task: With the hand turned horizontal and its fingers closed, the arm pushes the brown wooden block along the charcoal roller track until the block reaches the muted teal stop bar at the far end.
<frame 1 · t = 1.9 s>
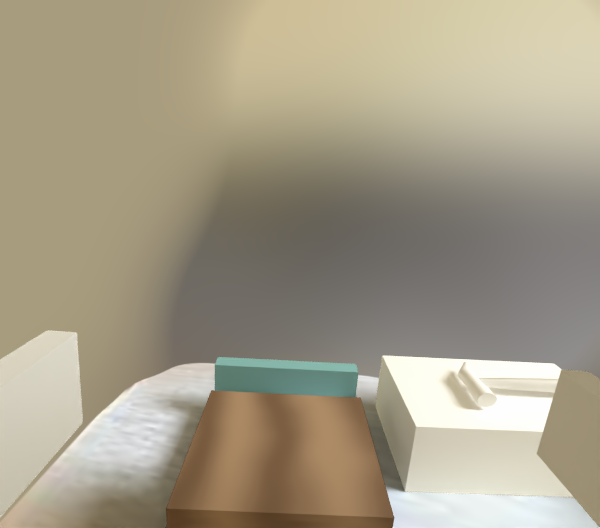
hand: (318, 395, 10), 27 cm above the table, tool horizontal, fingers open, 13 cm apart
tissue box: (482, 449, 46), on the table
brown wooden block: (281, 482, 29), point 9 cm above the table, slide at 0.0 cm
teal stop bar: (284, 416, 49), on the table
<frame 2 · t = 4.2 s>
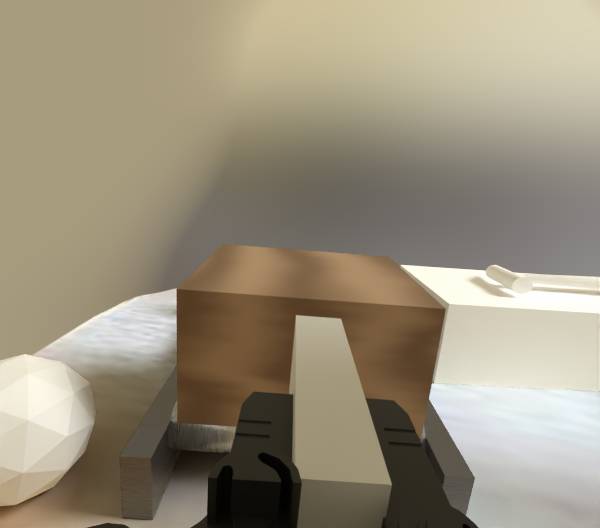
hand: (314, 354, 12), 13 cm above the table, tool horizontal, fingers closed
roller track: (295, 382, 33), on the table
geometric ball: (24, 483, 21), on the table
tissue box: (510, 357, 43), on the table
brown wooden block: (304, 323, 25), point 9 cm above the table, slide at 0.0 cm
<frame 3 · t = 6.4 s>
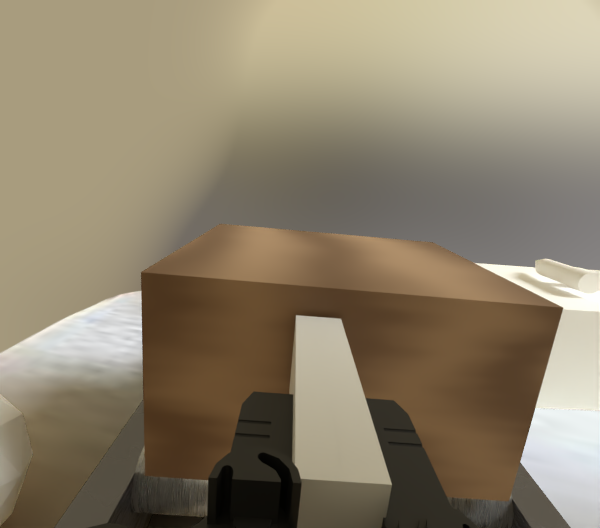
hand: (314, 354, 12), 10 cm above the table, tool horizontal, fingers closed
roller track: (309, 403, 26), on the table
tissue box: (561, 370, 36), on the table
brown wooden block: (327, 327, 19), point 9 cm above the table, slide at 0.2 cm, touching gripper
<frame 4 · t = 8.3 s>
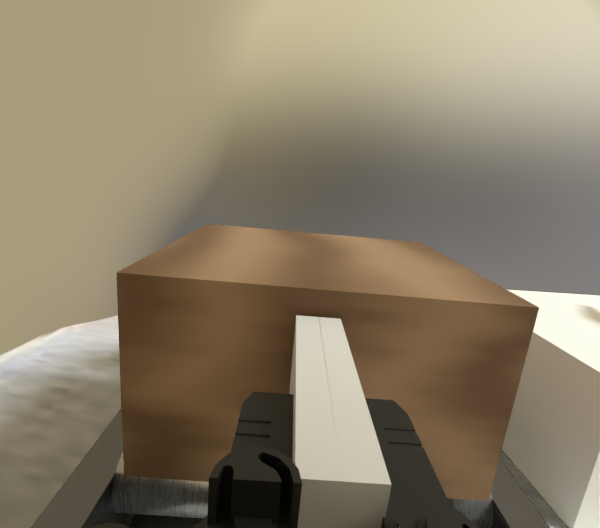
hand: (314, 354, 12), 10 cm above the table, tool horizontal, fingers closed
brown wooden block: (312, 327, 19), point 9 cm above the table, slide at 10.2 cm, touching gripper
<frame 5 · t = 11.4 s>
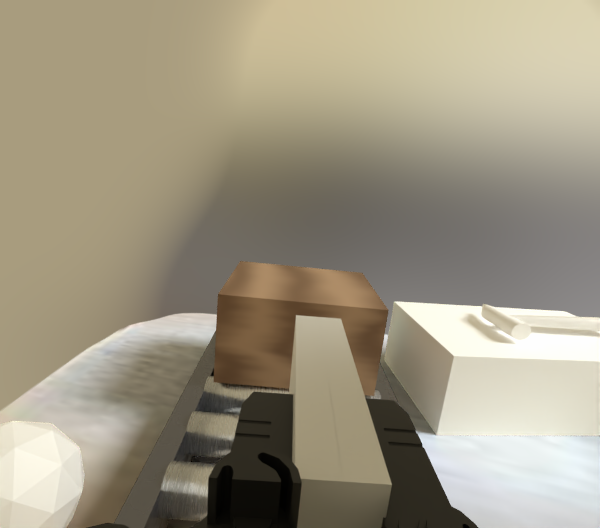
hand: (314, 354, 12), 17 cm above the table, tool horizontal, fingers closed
roller track: (289, 429, 33), on the table
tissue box: (503, 397, 43), on the table
brown wooden block: (298, 319, 36), point 9 cm above the table, slide at 11.4 cm
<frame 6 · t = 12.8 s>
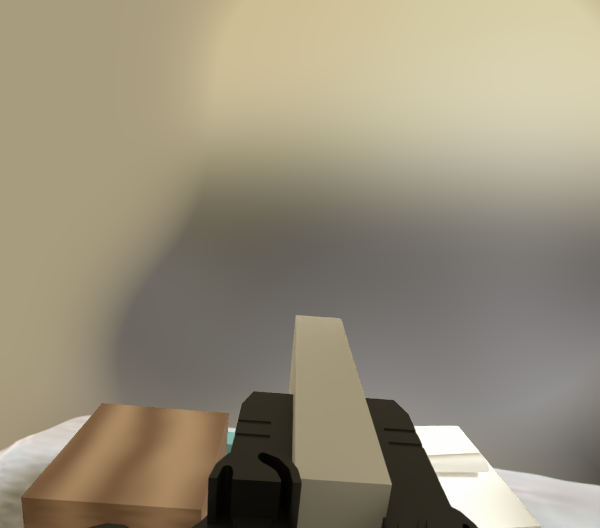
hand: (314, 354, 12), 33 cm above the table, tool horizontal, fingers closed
brown wooden block: (143, 482, 35), point 9 cm above the table, slide at 11.4 cm
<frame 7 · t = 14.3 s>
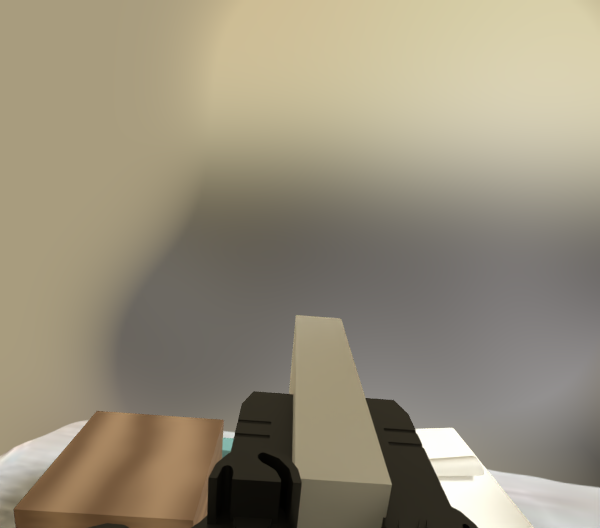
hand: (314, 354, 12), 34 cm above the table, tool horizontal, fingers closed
brown wooden block: (138, 491, 35), point 9 cm above the table, slide at 11.4 cm
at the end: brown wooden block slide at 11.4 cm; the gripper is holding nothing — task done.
